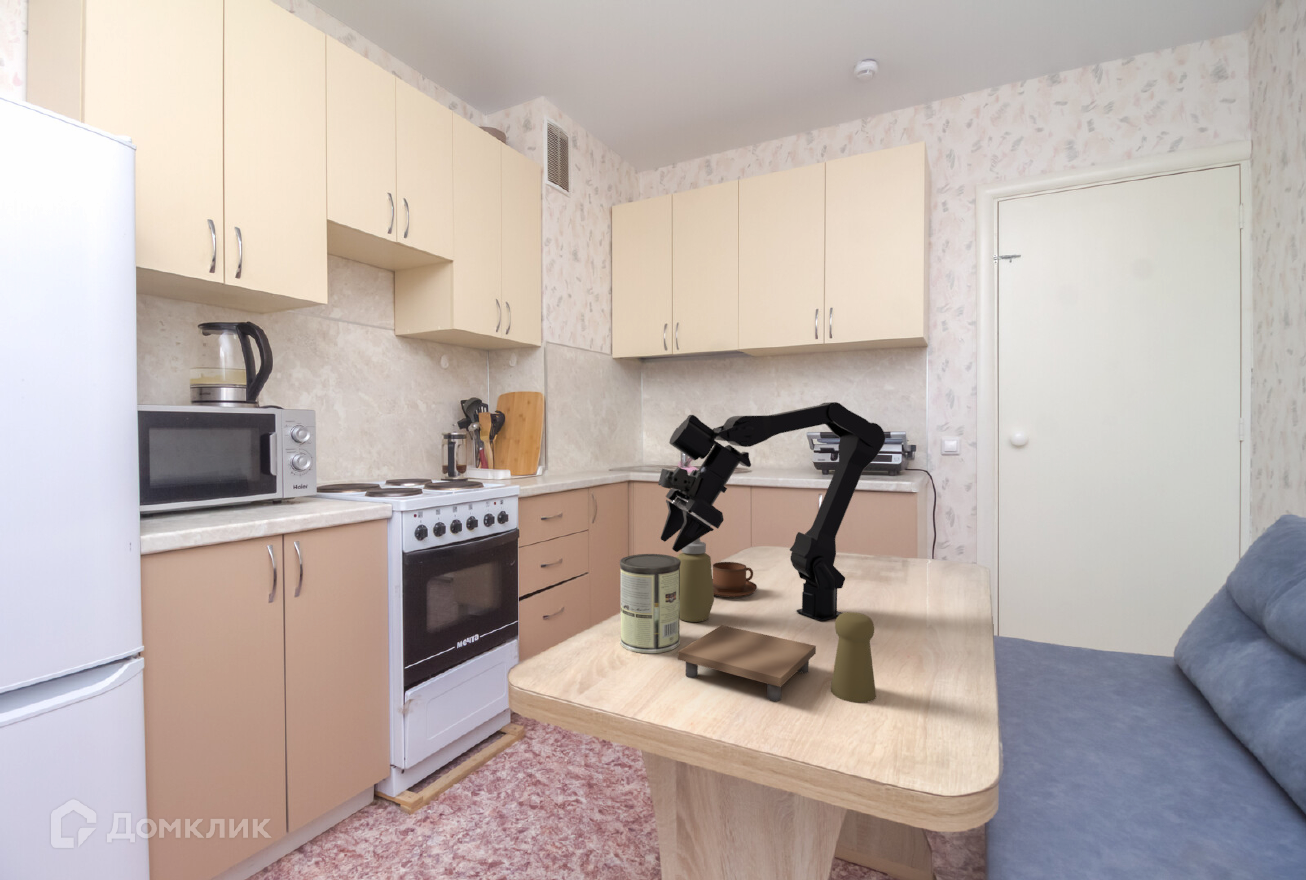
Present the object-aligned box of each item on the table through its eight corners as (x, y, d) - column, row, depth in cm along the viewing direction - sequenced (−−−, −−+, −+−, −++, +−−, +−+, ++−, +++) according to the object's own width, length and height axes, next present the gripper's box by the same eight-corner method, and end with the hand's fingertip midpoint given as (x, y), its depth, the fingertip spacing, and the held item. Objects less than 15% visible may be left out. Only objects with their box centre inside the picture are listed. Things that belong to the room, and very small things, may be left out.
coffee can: (632, 628, 109) (632, 551, 109) (687, 635, 106) (687, 556, 106) (609, 649, 100) (610, 564, 99) (669, 657, 96) (670, 570, 96)
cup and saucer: (724, 583, 141) (725, 556, 141) (767, 594, 133) (768, 566, 132) (690, 593, 133) (690, 565, 132) (733, 605, 124) (734, 575, 124)
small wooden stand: (677, 676, 89) (677, 651, 89) (721, 646, 101) (721, 625, 101) (780, 705, 80) (780, 678, 80) (815, 669, 92) (815, 645, 92)
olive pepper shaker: (869, 684, 87) (871, 608, 87) (881, 704, 81) (883, 622, 81) (826, 682, 88) (828, 607, 87) (835, 701, 82) (836, 621, 81)
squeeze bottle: (669, 611, 119) (670, 520, 119) (710, 610, 120) (711, 520, 119) (674, 625, 111) (675, 528, 111) (717, 624, 112) (719, 527, 111)
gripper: (667, 447, 120) (623, 514, 119) (693, 453, 102) (642, 531, 100) (711, 478, 122) (669, 543, 121) (744, 488, 104) (695, 566, 103)
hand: (668, 545), depth 111 cm, fingers open, 9 cm apart
